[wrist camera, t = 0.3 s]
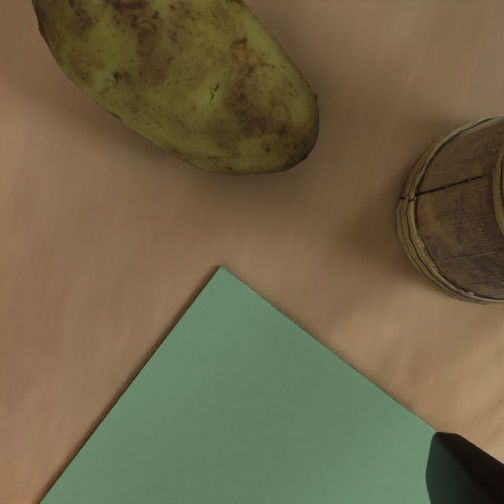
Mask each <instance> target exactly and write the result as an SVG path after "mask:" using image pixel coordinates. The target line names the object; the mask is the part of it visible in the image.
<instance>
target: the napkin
mask: <svg viewBox="0 0 504 504" xmlns="http://www.w3.org/2000/svg"><path fill="white" fill-rule="evenodd" d="M435 433H436V431H435V430H433V429H432V428H431V427H430V426H428V425H427V424H426V423H424V422H423V421H422V420H420V419H419V418H418V417H417V416H415V415H414V414H413V413H411V412H410V411H409V410H407V409H406V408H405V407H404V406H402V405H401V404H400V403H398V402H397V401H396V400H394V399H393V398H392V397H391V396H389V395H388V394H387V393H385V392H384V391H383V390H381V389H380V388H379V387H378V386H376V385H375V384H374V383H372V382H371V381H370V380H368V379H367V378H366V377H365V376H363V375H362V374H361V373H359V372H358V371H357V370H355V369H354V368H353V367H352V366H350V365H349V364H348V363H346V362H345V361H344V360H342V359H341V358H340V357H339V356H337V355H336V354H335V353H333V352H332V351H331V350H329V349H328V348H327V347H326V346H324V345H323V344H322V343H320V342H319V341H318V340H316V339H315V338H314V337H313V336H311V335H310V334H309V333H307V332H306V331H305V330H303V329H302V328H301V327H300V326H298V325H297V324H296V323H294V322H293V321H292V320H290V319H289V318H288V317H287V316H285V315H284V314H283V313H281V312H280V311H279V310H277V309H276V308H275V307H274V306H272V305H271V304H270V303H268V302H267V301H266V300H264V299H263V298H262V297H261V296H259V295H258V294H257V293H255V292H254V291H253V290H251V289H250V288H249V287H248V286H246V285H245V284H244V283H242V282H241V281H240V280H238V279H237V278H236V277H235V276H233V275H232V274H231V273H229V272H228V271H227V270H225V269H224V268H223V267H220V268H219V269H218V270H217V272H216V273H215V274H214V275H213V277H212V278H211V279H210V281H209V282H208V283H207V285H206V286H205V287H204V289H203V290H202V291H201V293H200V294H199V295H198V296H197V298H196V299H195V300H194V302H193V303H192V304H191V306H190V307H189V308H188V310H187V311H186V312H185V313H184V315H183V316H182V317H181V319H180V320H179V321H178V323H177V324H176V325H175V327H174V328H173V329H172V331H171V332H170V333H169V334H168V336H167V337H166V338H165V340H164V341H163V342H162V344H161V345H160V346H159V348H158V349H157V350H156V351H155V353H154V354H153V355H152V357H151V358H150V359H149V361H148V362H147V363H146V365H145V366H144V367H143V369H142V370H141V371H140V372H139V374H138V375H137V376H136V378H135V379H134V380H133V382H132V383H131V384H130V386H129V387H128V388H127V389H126V391H125V392H124V393H123V395H122V396H121V397H120V399H119V400H118V401H117V403H116V404H115V405H114V407H113V408H112V409H111V410H110V412H109V413H108V414H107V416H106V417H105V418H104V420H103V421H102V422H101V424H100V425H99V426H98V427H97V429H96V430H95V431H94V433H93V434H92V435H91V437H90V438H89V439H88V441H87V442H86V443H85V445H84V446H83V447H82V448H81V450H80V451H79V452H78V454H77V455H76V456H75V458H74V459H73V460H72V462H71V463H70V464H69V465H68V467H67V468H66V469H65V471H64V472H63V473H62V475H61V476H60V477H59V479H58V480H57V481H56V483H55V484H54V485H53V486H52V488H51V489H50V490H49V492H48V493H47V494H46V496H45V497H44V498H43V500H42V501H41V502H40V503H39V504H431V503H430V499H429V495H428V491H427V486H426V480H425V472H426V466H427V461H428V455H429V450H430V444H431V439H432V437H433V435H434V434H435Z"/></svg>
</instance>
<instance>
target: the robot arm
mask: <svg viewBox="0 0 504 504" xmlns="http://www.w3.org/2000/svg"><path fill="white" fill-rule="evenodd" d="M425 480H426V486H427V491H428V495H429V499H430V503H431V504H504V464H503V463H501V462H500V461H498V460H497V459H495V458H494V457H492V456H491V455H489V454H488V453H486V452H485V451H483V450H481V449H480V448H478V447H477V446H475V445H474V444H472V443H471V442H469V441H468V440H466V439H465V438H463V437H462V436H460V435H458V434H455V433H446V432H436V433H435V434H434V435H433V437H432V439H431V444H430V450H429V455H428V461H427V466H426V472H425Z"/></svg>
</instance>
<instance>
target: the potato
mask: <svg viewBox="0 0 504 504" xmlns="http://www.w3.org/2000/svg"><path fill="white" fill-rule="evenodd" d="M32 4H33V7H34V10H35V13H36V16H37V20H38V25H39V31H40V32H41V33H40V34H41V36H42V37H43V38H44V40H45V41H46V43H47V45H48V47H49V49H50V51H51V53H52V55H53V57H54V58H55V60H56V62H57V63H58V65H59V66H60V68H61V69H62V70H63V71H64V73H65V74H66V75H67V76H68V77H69V79H70V80H71V81H73V82H74V83H75V84H76V85H77V86H78V87H79V88H80V89H82V90H83V91H84V92H85V93H86V94H87V95H88V96H90V97H91V98H92V99H93V100H94V101H95V102H97V103H98V104H99V105H100V106H102V107H103V108H104V109H105V110H107V111H108V112H109V113H110V114H112V115H113V116H114V117H116V118H117V119H118V120H120V121H121V122H123V123H124V124H126V125H127V126H129V127H130V128H132V129H134V130H135V131H137V132H138V133H140V134H141V135H143V136H144V137H146V138H147V139H149V140H150V141H151V142H153V143H154V144H155V145H157V146H158V147H159V148H161V149H162V150H164V151H166V152H168V153H169V154H171V155H173V156H175V157H177V158H179V159H181V160H183V161H185V162H188V163H190V164H192V165H194V166H196V167H199V168H202V169H205V170H208V171H211V172H216V173H220V174H225V175H246V174H257V173H276V172H283V171H286V170H289V169H290V168H292V167H294V166H296V165H297V164H298V163H299V162H301V161H303V160H305V159H306V158H307V156H308V154H309V153H310V152H311V151H312V149H313V148H314V146H315V143H316V141H317V137H318V130H319V109H318V104H317V96H316V94H314V93H313V91H312V89H311V87H310V85H309V84H308V82H307V81H306V79H305V78H304V76H303V75H302V74H301V72H300V71H299V70H298V68H297V67H296V66H295V64H294V63H293V61H292V60H291V59H290V57H289V56H288V55H287V54H286V52H285V51H284V50H283V49H282V47H281V46H280V45H279V44H278V43H277V41H276V40H275V39H274V38H273V37H272V36H271V34H270V33H269V32H268V31H267V30H266V28H265V27H264V26H263V25H262V24H261V22H260V21H259V20H258V19H257V18H256V16H255V15H254V14H253V13H252V12H251V10H250V9H249V8H248V7H247V6H246V5H245V3H244V2H243V1H242V0H32Z"/></svg>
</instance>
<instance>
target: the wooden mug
mask: <svg viewBox="0 0 504 504" xmlns="http://www.w3.org/2000/svg"><path fill="white" fill-rule="evenodd" d="M396 218H397V230H398V238H399V240H400V242H401V244H402V246H403V249H404V251H405V253H406V255H407V257H408V259H409V260H410V261H411V263H412V264H413V266H414V267H415V268H416V270H417V271H418V272H419V274H420V275H421V276H422V277H423V278H424V279H426V280H427V281H428V282H429V283H431V284H432V285H433V286H434V287H435V288H437V289H438V290H439V291H441V292H444V293H446V294H448V295H450V296H452V297H455V298H457V299H459V300H463V301H468V302H473V303H478V304H484V305H485V304H495V303H504V114H503V115H496V116H489V117H482V118H478V119H476V120H474V121H472V122H470V123H468V124H466V125H464V126H461V127H459V128H457V129H455V130H453V131H452V132H450V133H448V134H446V135H444V136H442V137H440V138H438V139H436V140H434V141H433V142H432V143H431V145H430V146H429V147H428V148H427V150H426V151H425V152H424V154H423V155H422V156H421V158H420V159H419V161H418V162H417V164H416V165H415V167H414V168H413V169H412V171H411V172H410V175H409V177H408V179H407V182H406V184H405V187H404V189H403V192H402V195H401V198H400V201H399V204H398V207H397V210H396Z"/></svg>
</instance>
